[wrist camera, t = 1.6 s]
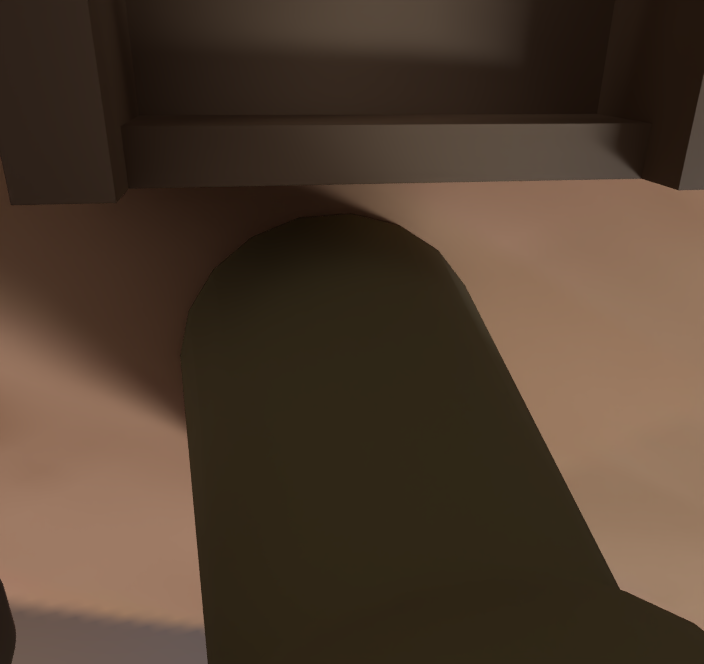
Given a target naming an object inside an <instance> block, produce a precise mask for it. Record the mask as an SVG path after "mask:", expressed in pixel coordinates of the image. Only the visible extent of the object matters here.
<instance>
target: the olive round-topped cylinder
mask: <svg viewBox="0 0 704 664" xmlns="http://www.w3.org/2000/svg"><path fill="white" fill-rule="evenodd" d="M180 359H181V370H182V381H183V392H184V403H185V414H186V425H187V436H188V448H189V459H190V470H191V481H192V492H193V503H194V514H195V525H196V537H197V548H198V559H199V570H200V581H201V592H202V603H203V614H204V626H205V637H206V648H207V659H208V664H704V631H703V630H702V629H700V628H699V627H698V626H697V625H695V624H694V623H692V622H690V621H688V620H686V619H684V618H681V617H679V616H677V615H675V614H673V613H671V612H669V611H666V610H664V609H662V608H660V607H658V606H656V605H653V604H651V603H649V602H647V601H645V600H643V599H641V598H638V597H636V596H634V595H632V594H630V593H628V592H625V591H623V590H620V588H619V587H618V585H617V583H616V581H615V579H614V577H613V575H612V573H611V571H610V569H609V567H608V565H607V563H606V561H605V559H604V557H603V555H602V553H601V551H600V549H599V547H598V545H597V543H596V541H595V539H594V538H593V536H592V534H591V532H590V530H589V528H588V526H587V524H586V522H585V520H584V518H583V516H582V514H581V512H580V510H579V508H578V506H577V504H576V502H575V500H574V498H573V496H572V494H571V492H570V490H569V489H568V487H567V485H566V483H565V481H564V479H563V477H562V475H561V473H560V471H559V469H558V467H557V465H556V463H555V461H554V459H553V457H552V455H551V453H550V451H549V449H548V447H547V445H546V443H545V441H544V440H543V438H542V436H541V434H540V432H539V430H538V428H537V426H536V424H535V422H534V420H533V418H532V416H531V414H530V412H529V410H528V408H527V406H526V404H525V402H524V400H523V398H522V396H521V394H520V392H519V390H518V389H517V387H516V385H515V383H514V381H513V379H512V377H511V375H510V373H509V371H508V369H507V367H506V365H505V363H504V361H503V359H502V357H501V355H500V353H499V351H498V349H497V347H496V345H495V343H494V341H493V340H492V338H491V336H490V334H489V332H488V330H487V328H486V326H485V324H484V322H483V320H482V318H481V316H480V314H479V312H478V310H477V308H476V306H475V304H474V302H473V300H472V298H471V296H470V294H469V292H468V291H467V289H466V287H465V285H464V284H463V282H462V281H461V280H460V278H459V277H458V276H457V274H456V273H455V272H454V270H453V269H452V268H451V266H450V265H449V264H448V263H447V261H446V260H445V259H444V257H443V256H442V255H441V253H440V252H439V251H438V250H437V249H435V248H434V247H432V246H430V245H429V244H427V243H426V242H424V241H423V240H421V239H420V238H418V237H416V236H415V235H413V234H412V233H410V232H409V231H407V230H406V229H404V228H402V227H401V226H399V225H396V224H391V223H387V222H383V221H379V220H375V219H371V218H367V217H363V216H359V215H355V214H341V215H328V216H315V217H302V218H298V219H296V220H293V221H291V222H288V223H286V224H283V225H281V226H278V227H276V228H274V229H271V230H269V231H266V232H264V233H261V234H259V235H256V236H254V237H252V238H251V239H249V240H248V241H247V242H246V243H245V244H243V245H242V246H241V247H240V248H239V249H238V250H236V251H235V252H234V253H233V254H232V255H230V256H229V257H228V258H227V259H226V260H225V261H223V262H222V263H221V264H220V265H219V266H218V267H216V268H215V269H214V270H213V271H212V273H211V275H210V276H209V278H208V280H207V282H206V283H205V285H204V287H203V288H202V290H201V292H200V293H199V295H198V297H197V298H196V300H195V302H194V303H193V305H192V307H191V308H190V310H189V313H188V318H187V323H186V328H185V333H184V339H183V344H182V349H181V354H180Z"/></svg>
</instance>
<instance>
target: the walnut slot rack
mask: <svg viewBox="0 0 704 664" xmlns="http://www.w3.org/2000/svg"><path fill="white" fill-rule="evenodd" d="M0 155H1V159H2V164H3V169H4V174H5V178H6V183H7V188H8V193H9V197H10V202H11V205H39V204H83V203H116V202H117V201H118V200H119V199H120V198H121V197H122V196H123V194H124V193H125V192H126V191H127V190H128V189H129V188H178V187H230V186H281V185H332V184H384V183H436V182H487V181H539V180H590V179H645V180H648V181H651V182H654V183H657V184H661V185H664V186H667V187H670V188H673V189H677V190H704V0H0Z"/></svg>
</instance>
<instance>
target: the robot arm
mask: <svg viewBox="0 0 704 664" xmlns="http://www.w3.org/2000/svg"><path fill="white" fill-rule="evenodd" d="M15 643H16V629H15V624H14V621H13V617H12V614H11V610H10V607H9V603H8V600H7V596H6V593H5V589H4V586H3V583H2V581H1V580H0V664H11V663H12V659H13V655H14V650H15Z"/></svg>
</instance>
